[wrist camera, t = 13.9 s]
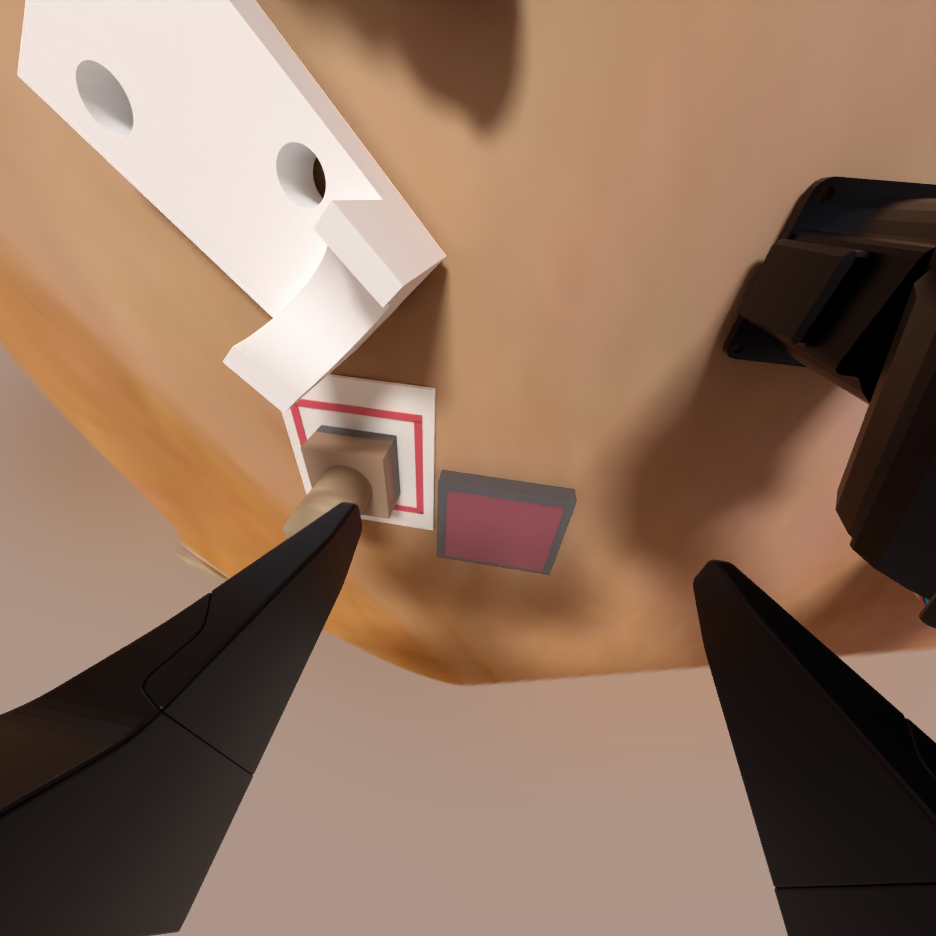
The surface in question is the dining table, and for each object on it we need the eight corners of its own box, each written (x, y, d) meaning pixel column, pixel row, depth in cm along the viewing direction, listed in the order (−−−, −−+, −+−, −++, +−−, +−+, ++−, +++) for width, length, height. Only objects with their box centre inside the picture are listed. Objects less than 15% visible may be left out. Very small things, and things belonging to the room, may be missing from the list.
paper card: (435, 388, 20) (434, 391, 20) (433, 527, 27) (432, 531, 27) (271, 366, 21) (267, 369, 20) (313, 508, 28) (311, 511, 28)
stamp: (396, 435, 22) (352, 513, 17) (400, 493, 25) (364, 575, 20) (321, 424, 22) (253, 498, 17) (334, 483, 25) (280, 560, 20)
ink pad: (574, 489, 23) (576, 504, 22) (548, 562, 28) (549, 578, 27) (441, 469, 24) (437, 484, 22) (439, 544, 29) (435, 559, 27)
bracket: (450, 253, 16) (403, 285, 10) (358, 347, 19) (283, 413, 13) (174, -121, 11) (-254, -502, 5) (116, 98, 14) (-175, 29, 8)
